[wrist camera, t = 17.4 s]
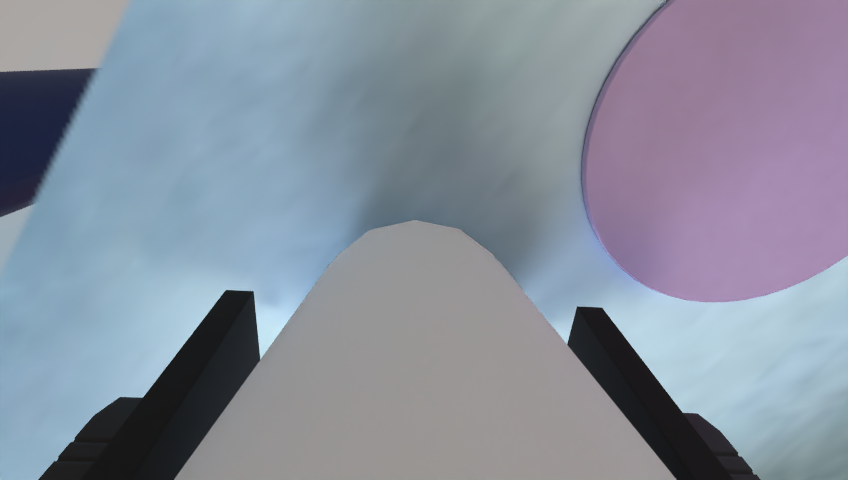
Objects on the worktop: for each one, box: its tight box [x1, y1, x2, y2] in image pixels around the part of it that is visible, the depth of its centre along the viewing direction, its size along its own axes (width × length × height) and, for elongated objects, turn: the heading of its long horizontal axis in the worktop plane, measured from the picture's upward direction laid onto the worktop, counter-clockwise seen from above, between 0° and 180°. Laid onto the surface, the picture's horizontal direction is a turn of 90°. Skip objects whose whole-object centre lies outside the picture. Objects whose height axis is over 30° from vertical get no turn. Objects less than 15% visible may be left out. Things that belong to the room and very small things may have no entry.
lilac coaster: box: [582, 0, 848, 302], centre depth 13 cm, size 11×11×1 cm
